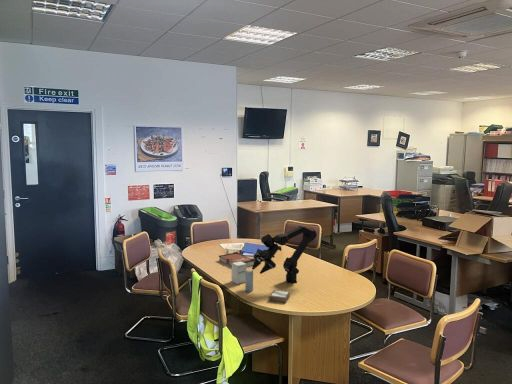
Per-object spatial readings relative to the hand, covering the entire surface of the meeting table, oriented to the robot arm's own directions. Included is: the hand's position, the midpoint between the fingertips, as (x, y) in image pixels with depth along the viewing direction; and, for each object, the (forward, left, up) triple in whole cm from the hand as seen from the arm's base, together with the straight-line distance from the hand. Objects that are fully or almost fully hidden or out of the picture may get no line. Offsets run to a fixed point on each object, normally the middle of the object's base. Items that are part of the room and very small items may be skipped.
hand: (256, 271), depth 248 cm
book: (+13, -56, -12) cm, 59 cm away
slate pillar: (+4, +3, -12) cm, 13 cm away
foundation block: (-13, +16, -12) cm, 24 cm away
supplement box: (+11, -14, -12) cm, 21 cm away
